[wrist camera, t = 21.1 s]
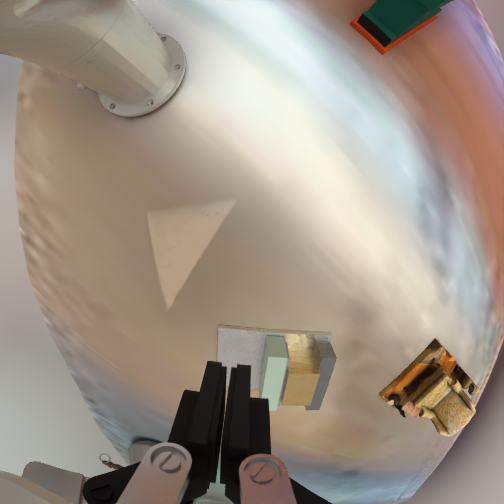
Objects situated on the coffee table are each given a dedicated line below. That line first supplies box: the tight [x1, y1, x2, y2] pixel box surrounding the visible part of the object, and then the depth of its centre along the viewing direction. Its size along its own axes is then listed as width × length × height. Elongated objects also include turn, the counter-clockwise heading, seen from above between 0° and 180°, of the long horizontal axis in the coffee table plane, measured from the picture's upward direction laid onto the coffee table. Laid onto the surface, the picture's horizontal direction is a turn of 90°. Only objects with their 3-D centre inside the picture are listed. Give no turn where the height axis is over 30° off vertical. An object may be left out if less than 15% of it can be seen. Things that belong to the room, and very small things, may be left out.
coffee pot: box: [99, 440, 160, 470], centre depth 38 cm, size 21×12×15 cm, turn 7°
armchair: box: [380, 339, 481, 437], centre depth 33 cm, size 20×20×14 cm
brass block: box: [281, 348, 320, 406], centre depth 35 cm, size 4×6×6 cm, turn 175°
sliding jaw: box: [259, 336, 290, 411], centre depth 35 cm, size 3×10×5 cm, turn 175°
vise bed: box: [217, 325, 336, 410], centre depth 35 cm, size 16×11×6 cm
